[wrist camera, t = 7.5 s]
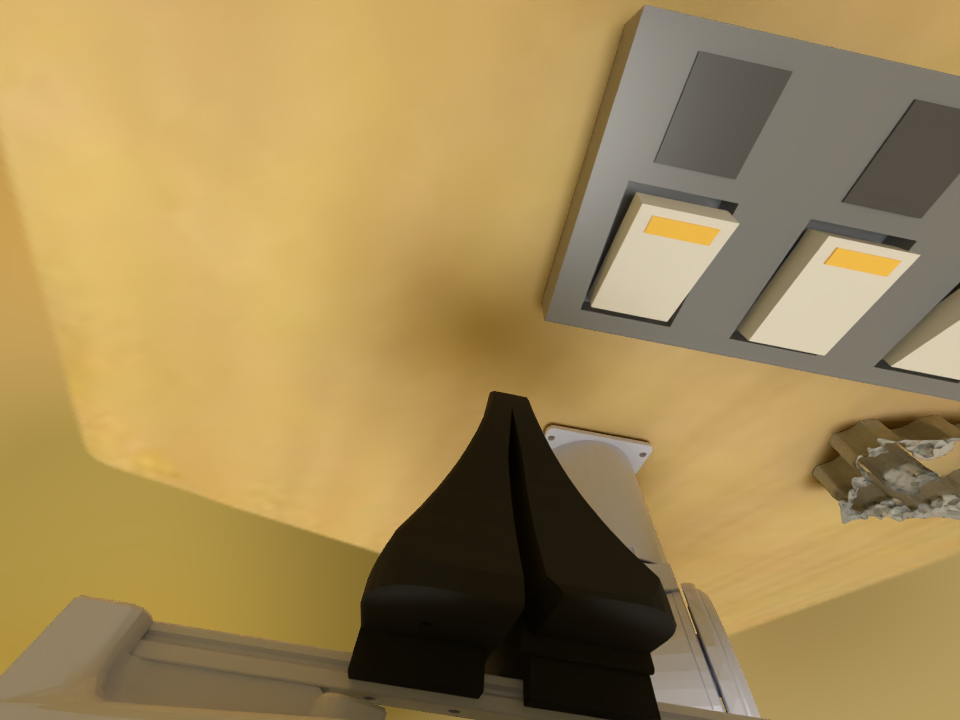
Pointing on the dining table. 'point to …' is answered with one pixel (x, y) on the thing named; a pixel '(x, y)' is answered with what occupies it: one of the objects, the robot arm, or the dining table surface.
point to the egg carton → (892, 471)
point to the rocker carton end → (932, 342)
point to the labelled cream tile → (659, 256)
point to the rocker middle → (823, 291)
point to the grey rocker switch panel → (770, 183)
